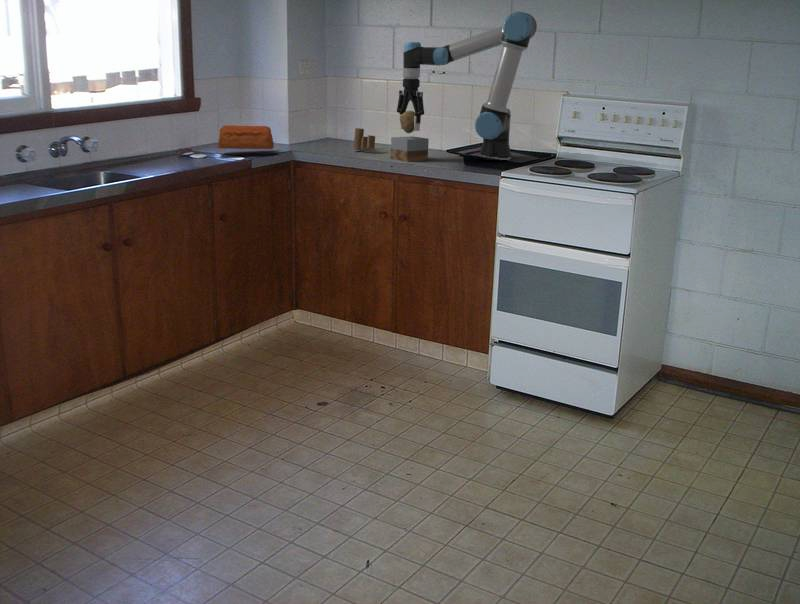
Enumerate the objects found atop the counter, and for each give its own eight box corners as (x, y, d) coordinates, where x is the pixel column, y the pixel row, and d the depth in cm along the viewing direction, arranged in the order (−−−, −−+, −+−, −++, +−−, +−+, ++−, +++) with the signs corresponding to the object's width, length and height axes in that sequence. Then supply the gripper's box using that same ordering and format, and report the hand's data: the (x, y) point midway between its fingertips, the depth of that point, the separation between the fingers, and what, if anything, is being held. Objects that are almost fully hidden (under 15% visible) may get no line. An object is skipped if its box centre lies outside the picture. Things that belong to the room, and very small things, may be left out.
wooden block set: (377, 152, 423) (379, 131, 421) (360, 151, 420) (362, 129, 418) (365, 149, 440) (367, 128, 437) (349, 148, 436) (351, 127, 434)
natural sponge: (416, 132, 401) (417, 110, 398) (422, 134, 393) (423, 111, 390) (397, 132, 398) (397, 109, 396) (403, 134, 390) (403, 111, 388)
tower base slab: (427, 161, 398) (428, 149, 397) (407, 162, 391) (407, 151, 390) (410, 158, 407) (411, 147, 406) (390, 159, 400) (390, 148, 399)
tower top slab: (428, 149, 397) (428, 138, 395) (407, 151, 390) (407, 139, 388) (412, 147, 406) (412, 136, 404) (391, 148, 399) (391, 137, 397)
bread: (219, 145, 436) (219, 124, 433) (274, 146, 439) (273, 125, 436) (216, 149, 421) (216, 126, 418) (273, 150, 424) (272, 127, 421)
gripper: (433, 79, 383) (431, 131, 390) (402, 77, 399) (400, 127, 406) (420, 79, 379) (419, 132, 385) (389, 77, 395) (388, 128, 401)
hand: (409, 129), depth 395 cm, fingers closed on natural sponge, 9 cm apart
